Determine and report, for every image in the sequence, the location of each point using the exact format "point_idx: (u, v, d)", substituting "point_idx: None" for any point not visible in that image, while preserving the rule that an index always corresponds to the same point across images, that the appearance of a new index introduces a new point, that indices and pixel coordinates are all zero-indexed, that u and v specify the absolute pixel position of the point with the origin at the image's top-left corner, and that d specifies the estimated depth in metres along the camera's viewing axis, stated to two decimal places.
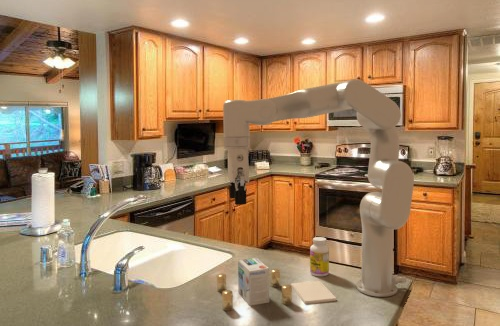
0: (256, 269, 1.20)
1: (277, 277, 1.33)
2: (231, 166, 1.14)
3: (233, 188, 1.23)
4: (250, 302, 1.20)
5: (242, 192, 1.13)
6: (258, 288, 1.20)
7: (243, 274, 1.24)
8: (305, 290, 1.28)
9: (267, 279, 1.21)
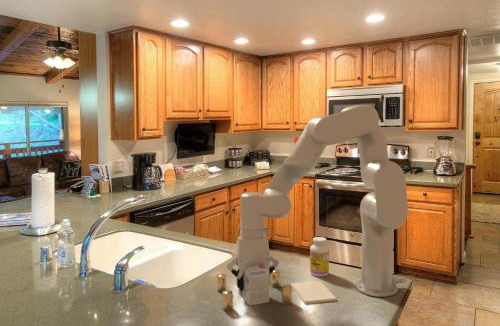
0: (256, 269, 1.20)
1: (277, 277, 1.33)
2: (265, 254, 1.23)
3: None
4: (250, 302, 1.20)
5: None
6: (258, 288, 1.20)
7: (243, 274, 1.24)
8: (305, 290, 1.28)
9: (267, 279, 1.21)
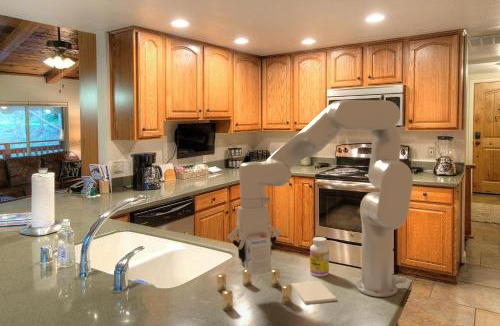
0: (257, 239, 1.19)
1: (277, 277, 1.33)
2: (266, 224, 1.22)
3: None
4: (252, 271, 1.19)
5: None
6: (259, 257, 1.20)
7: (244, 245, 1.23)
8: (305, 290, 1.28)
9: (268, 248, 1.20)
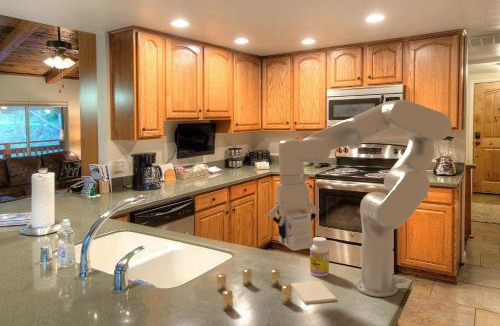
0: (298, 214, 1.20)
1: (277, 277, 1.33)
2: (306, 200, 1.23)
3: None
4: (294, 247, 1.20)
5: None
6: (301, 233, 1.21)
7: (284, 221, 1.24)
8: (305, 290, 1.28)
9: (309, 224, 1.21)
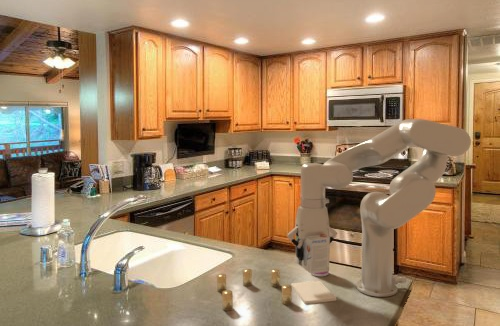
0: (317, 238, 1.22)
1: (277, 277, 1.33)
2: (325, 224, 1.25)
3: None
4: (311, 270, 1.22)
5: None
6: (319, 256, 1.22)
7: (302, 244, 1.26)
8: (305, 290, 1.28)
9: (328, 248, 1.23)
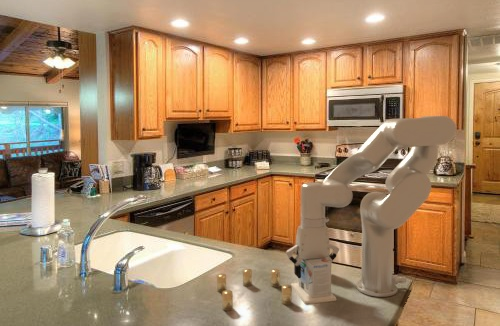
0: (319, 263, 1.23)
1: (277, 277, 1.33)
2: (325, 243, 1.26)
3: None
4: (313, 294, 1.23)
5: None
6: (320, 281, 1.23)
7: (304, 267, 1.27)
8: None
9: (329, 272, 1.24)
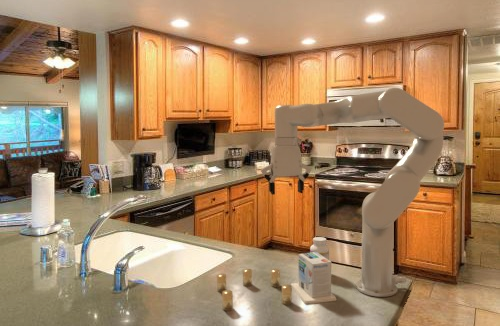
0: (319, 263, 1.23)
1: (277, 277, 1.33)
2: (298, 161, 1.34)
3: None
4: (313, 294, 1.23)
5: None
6: (320, 281, 1.23)
7: (304, 267, 1.27)
8: None
9: (329, 272, 1.24)
